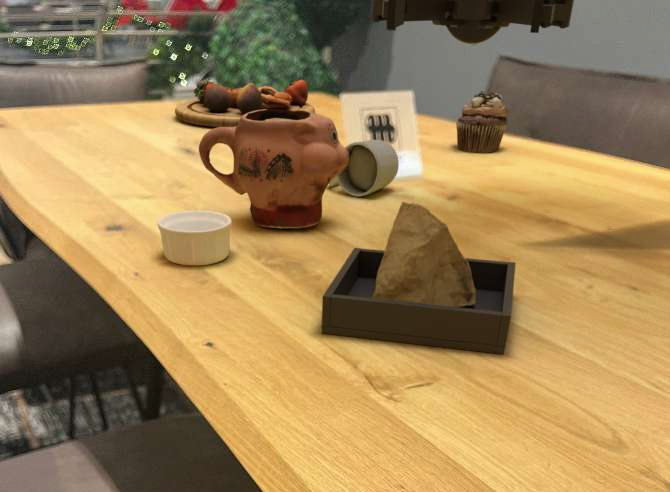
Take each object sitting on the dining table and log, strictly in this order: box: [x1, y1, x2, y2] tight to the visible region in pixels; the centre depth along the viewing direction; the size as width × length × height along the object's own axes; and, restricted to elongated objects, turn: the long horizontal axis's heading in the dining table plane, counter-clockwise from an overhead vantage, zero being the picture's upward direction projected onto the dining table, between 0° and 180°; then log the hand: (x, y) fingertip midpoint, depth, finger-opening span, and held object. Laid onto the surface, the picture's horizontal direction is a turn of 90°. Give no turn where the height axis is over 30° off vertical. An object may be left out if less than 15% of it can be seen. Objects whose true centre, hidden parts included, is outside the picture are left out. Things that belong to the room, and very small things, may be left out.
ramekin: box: [157, 210, 232, 267], centre depth 93 cm, size 9×9×4 cm
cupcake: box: [455, 90, 509, 154], centre depth 147 cm, size 10×10×10 cm
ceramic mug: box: [328, 139, 400, 198], centre depth 119 cm, size 11×8×8 cm
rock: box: [372, 201, 476, 307], centre depth 77 cm, size 11×9×10 cm
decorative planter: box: [198, 109, 349, 229], centre depth 102 cm, size 20×12×14 cm, turn 91°
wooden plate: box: [174, 78, 316, 128], centre depth 173 cm, size 32×32×8 cm
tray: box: [321, 247, 516, 355], centre depth 78 cm, size 18×16×4 cm
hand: (462, 13), depth 72 cm, fingers open, 13 cm apart
